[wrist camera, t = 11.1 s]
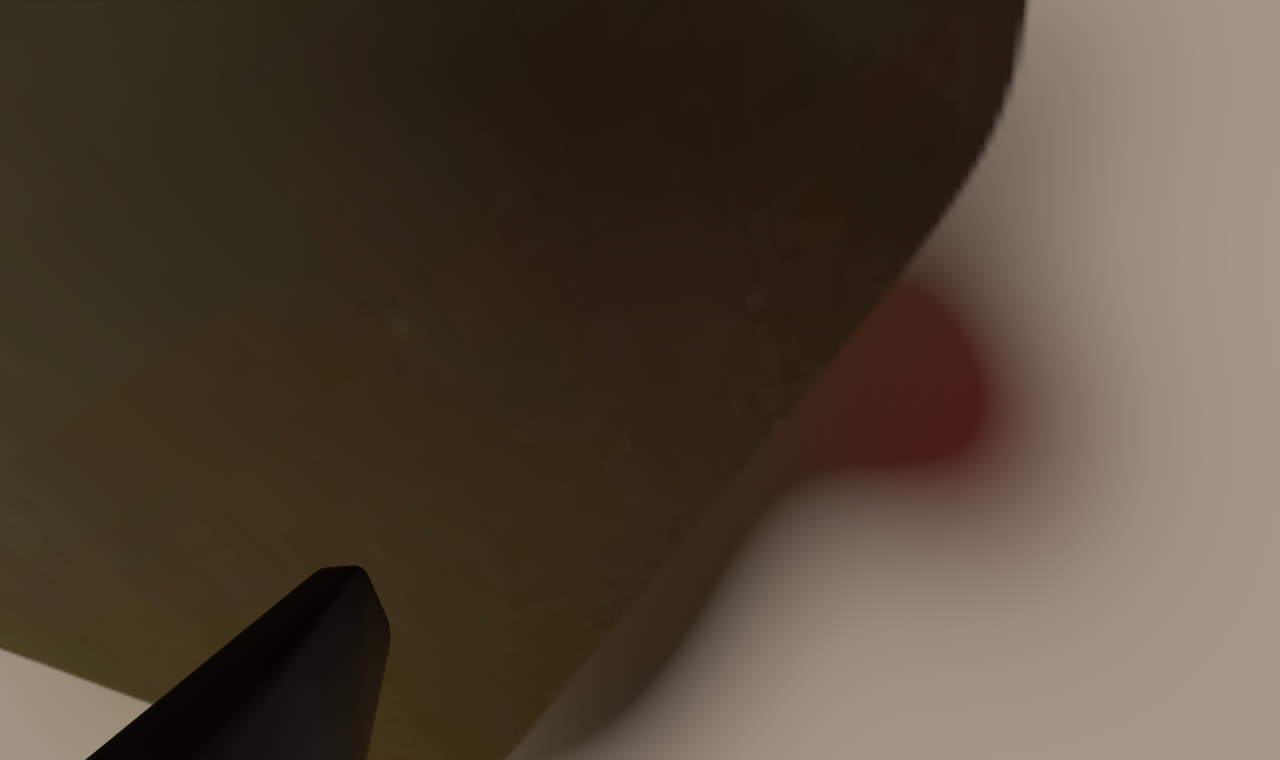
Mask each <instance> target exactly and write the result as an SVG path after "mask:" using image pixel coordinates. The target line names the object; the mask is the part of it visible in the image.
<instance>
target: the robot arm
mask: <svg viewBox="0 0 1280 760" xmlns="http://www.w3.org/2000/svg"><path fill="white" fill-rule="evenodd" d="M389 647H390V627H389V622H388V619H387V617H386V614H385V612H384V610H383V608H382V605H381V603H380V601H379V598H378V596H377V594H376V592H375V589H374V587H373V585H372V582H371V580H370V578H369V576H368V574H367V572H366V571H365V570H364V569H363V568H361V567H359V566H355V565H352V566H337V567H326V568H322V569H319V570H318V571H316V572H315V573H313V574H312V575H311V576H310V577H308V578H307V579H306V580H305V581H303V582H302V583H301V584H300V585H299V586H297V587H296V588H295V589H294V590H292V591H291V592H290V593H289V594H288V595H286V596H285V597H284V598H283V599H281V600H280V601H279V602H278V603H277V604H275V605H274V606H273V607H272V608H270V609H269V610H268V611H267V612H266V613H264V614H263V615H262V616H261V617H259V618H258V619H257V620H256V621H255V622H253V623H252V624H251V625H250V626H248V627H247V628H246V629H245V630H244V631H242V632H241V633H240V634H239V635H237V636H236V637H235V638H234V639H233V640H231V641H230V642H229V643H228V644H226V645H225V646H224V647H223V648H222V649H220V650H219V651H218V652H217V653H215V654H214V655H213V656H212V657H211V658H209V659H208V660H207V661H206V662H204V663H203V664H202V665H201V666H200V667H198V668H197V669H196V670H195V671H193V672H192V673H191V674H190V675H188V676H187V677H186V678H185V679H184V680H182V681H181V682H180V683H179V684H177V685H176V686H175V687H174V688H173V689H171V690H170V691H169V692H168V693H166V694H165V695H164V696H163V697H162V698H160V699H159V700H158V701H157V702H155V703H154V704H153V705H152V706H151V707H149V708H148V709H147V710H146V711H144V712H143V713H142V714H141V715H140V716H138V717H137V718H136V719H135V720H133V721H132V722H131V723H130V724H129V725H127V727H125V728H124V729H122V730H121V731H120V732H119V733H118V734H116V735H115V736H114V737H113V738H111V739H110V740H109V741H108V742H107V743H105V744H104V745H103V746H102V747H100V748H99V749H98V750H97V751H96V752H94V753H93V754H92V755H91V756H89V757H88V758H87V759H86V760H367V756H368V751H369V746H370V741H371V736H372V732H373V727H374V722H375V717H376V712H377V707H378V702H379V697H380V692H381V687H382V682H383V677H384V672H385V667H386V662H387V657H388V652H389Z"/></svg>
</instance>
